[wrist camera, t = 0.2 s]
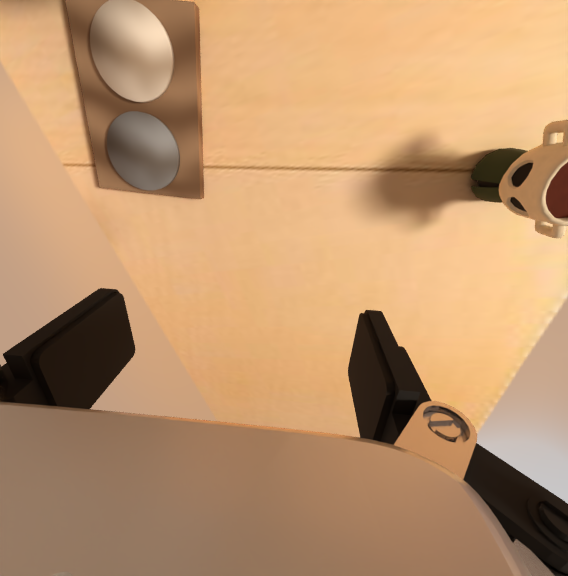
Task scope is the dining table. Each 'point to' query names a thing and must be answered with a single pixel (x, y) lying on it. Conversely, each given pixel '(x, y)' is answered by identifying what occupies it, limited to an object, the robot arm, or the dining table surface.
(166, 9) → the board
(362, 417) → the robot arm
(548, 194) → the character mug
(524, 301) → the dining table surface
